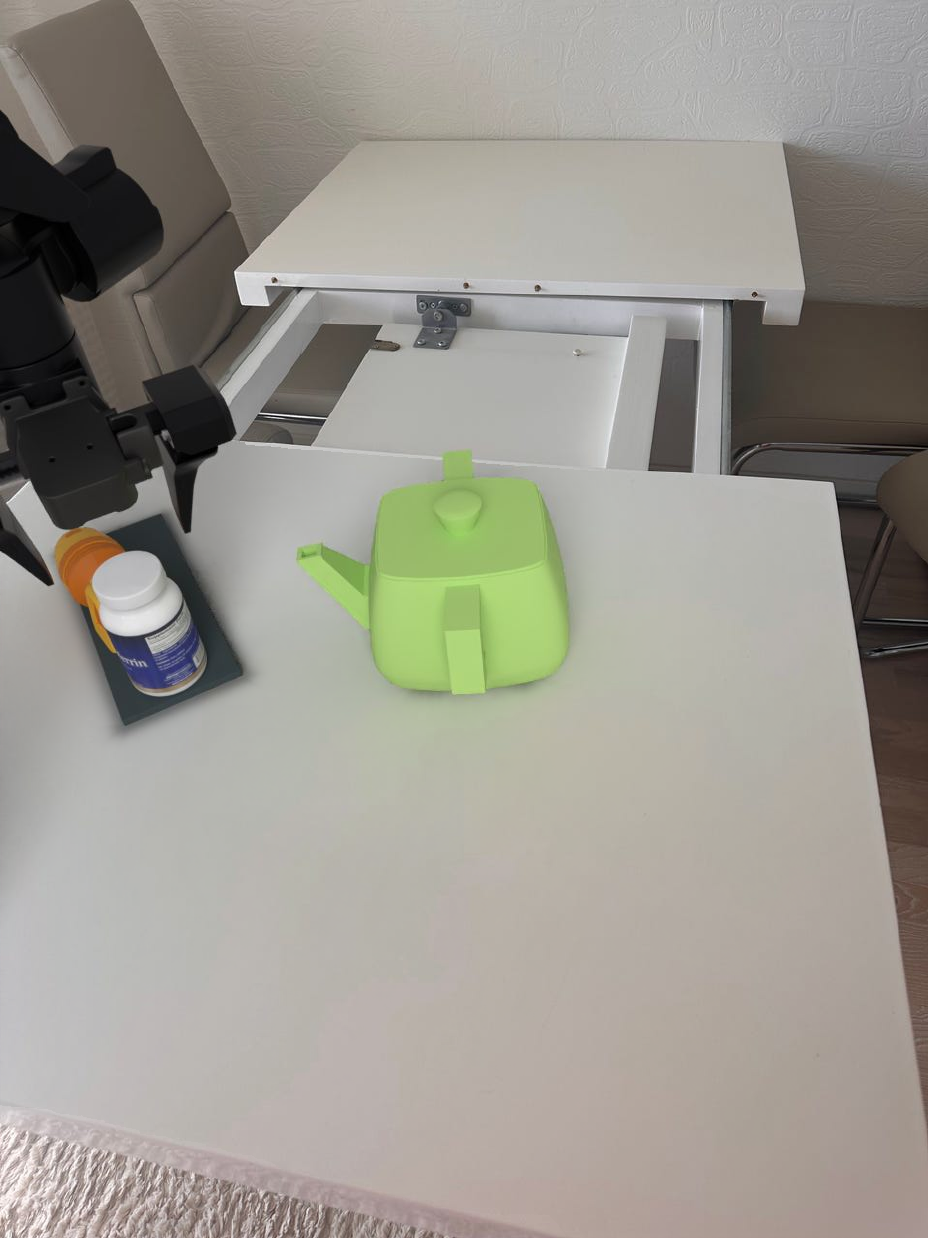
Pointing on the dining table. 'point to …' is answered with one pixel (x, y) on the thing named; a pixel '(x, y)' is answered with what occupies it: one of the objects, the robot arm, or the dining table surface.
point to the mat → (220, 659)
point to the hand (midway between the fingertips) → (119, 555)
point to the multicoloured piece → (85, 568)
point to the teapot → (456, 583)
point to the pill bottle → (149, 624)
